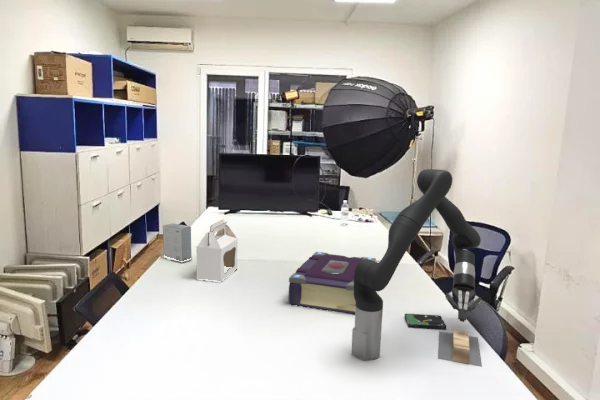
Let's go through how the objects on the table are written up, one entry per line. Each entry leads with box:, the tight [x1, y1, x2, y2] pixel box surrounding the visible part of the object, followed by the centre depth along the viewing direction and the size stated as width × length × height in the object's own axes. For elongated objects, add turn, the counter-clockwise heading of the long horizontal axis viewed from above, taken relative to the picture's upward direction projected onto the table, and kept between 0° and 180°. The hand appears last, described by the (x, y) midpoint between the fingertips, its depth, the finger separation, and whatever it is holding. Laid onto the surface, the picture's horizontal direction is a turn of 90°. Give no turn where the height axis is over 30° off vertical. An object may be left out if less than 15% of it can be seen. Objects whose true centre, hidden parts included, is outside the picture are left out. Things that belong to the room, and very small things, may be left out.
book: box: [288, 251, 377, 316], centre depth 209 cm, size 33×45×14 cm
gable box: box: [196, 219, 238, 281], centre depth 227 cm, size 22×13×28 cm, turn 167°
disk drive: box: [404, 313, 447, 331], centre depth 177 cm, size 10×3×15 cm
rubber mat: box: [437, 330, 483, 368], centre depth 158 cm, size 22×14×1 cm, turn 161°
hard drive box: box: [162, 223, 192, 261], centre depth 252 cm, size 16×8×20 cm, turn 58°
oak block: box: [452, 329, 470, 364], centre depth 154 cm, size 5×5×14 cm
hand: (462, 320), depth 156 cm, fingers closed
